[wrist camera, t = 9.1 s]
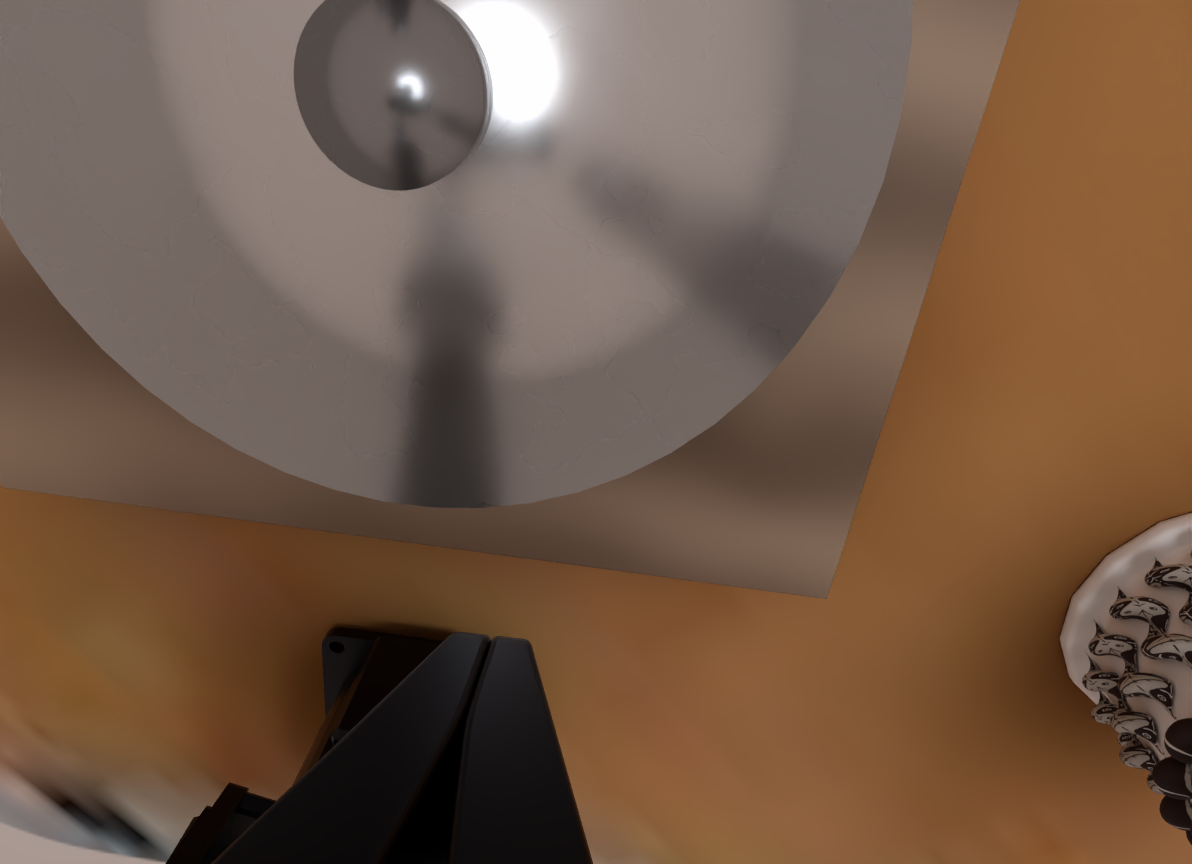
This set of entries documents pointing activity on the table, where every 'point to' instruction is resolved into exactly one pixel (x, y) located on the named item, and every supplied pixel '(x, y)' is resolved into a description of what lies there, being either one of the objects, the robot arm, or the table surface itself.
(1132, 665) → the decorative candle
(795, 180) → the dial
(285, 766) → the table surface
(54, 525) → the table surface
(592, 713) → the table surface
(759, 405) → the walnut stand
